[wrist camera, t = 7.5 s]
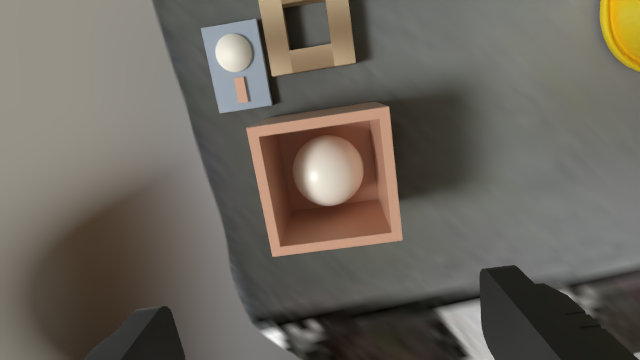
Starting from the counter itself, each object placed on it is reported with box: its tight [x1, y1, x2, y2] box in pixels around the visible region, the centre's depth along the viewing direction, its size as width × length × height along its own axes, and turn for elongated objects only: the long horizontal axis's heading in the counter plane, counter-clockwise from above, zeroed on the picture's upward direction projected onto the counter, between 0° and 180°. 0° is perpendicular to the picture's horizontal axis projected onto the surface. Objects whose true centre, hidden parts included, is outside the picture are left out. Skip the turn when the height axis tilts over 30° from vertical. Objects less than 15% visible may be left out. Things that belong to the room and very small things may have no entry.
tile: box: [201, 19, 273, 113], centre depth 26 cm, size 6×4×1 cm, turn 9°
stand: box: [258, 0, 356, 77], centre depth 25 cm, size 6×6×1 cm
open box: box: [246, 102, 403, 257], centre depth 24 cm, size 8×8×7 cm
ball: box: [293, 135, 364, 206], centre depth 25 cm, size 5×5×5 cm
